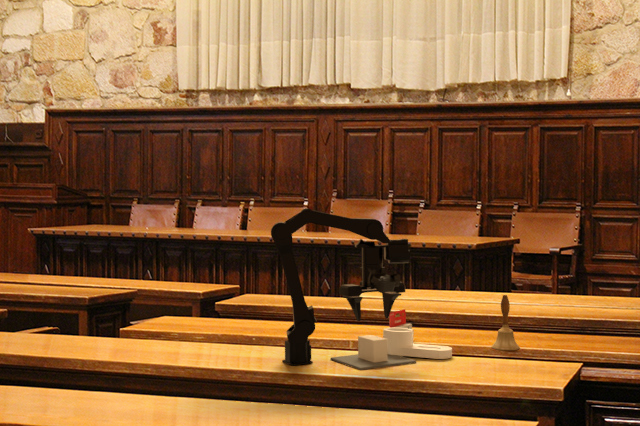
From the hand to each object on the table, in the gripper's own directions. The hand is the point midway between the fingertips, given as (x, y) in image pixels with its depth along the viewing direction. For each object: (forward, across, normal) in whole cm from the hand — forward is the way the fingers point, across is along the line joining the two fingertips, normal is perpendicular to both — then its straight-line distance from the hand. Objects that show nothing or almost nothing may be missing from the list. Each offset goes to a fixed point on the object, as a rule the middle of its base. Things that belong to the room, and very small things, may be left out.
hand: (372, 319), depth 226 cm
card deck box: (+11, 0, 0) cm, 11 cm away
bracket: (+12, +15, 0) cm, 19 cm away
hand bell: (+12, +45, -4) cm, 47 cm away
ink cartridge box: (+12, +24, +21) cm, 34 cm away
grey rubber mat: (+12, 0, 0) cm, 12 cm away
